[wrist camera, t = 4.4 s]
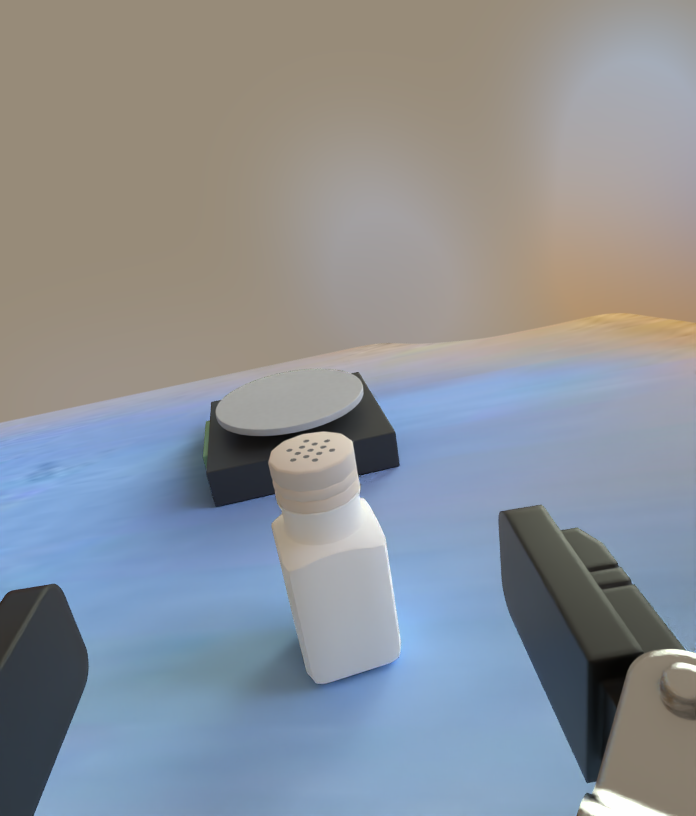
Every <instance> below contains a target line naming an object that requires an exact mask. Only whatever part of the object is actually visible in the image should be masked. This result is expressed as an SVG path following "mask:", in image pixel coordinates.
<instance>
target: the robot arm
mask: <svg viewBox="0 0 696 816" xmlns="http://www.w3.org/2000/svg"><path fill="white" fill-rule="evenodd" d="M499 540H500V558H501V576H502V586H503V592H504V596H505V601H506V604H507V607H508V610H509V613H510V616H511V618H512V620H513V622H514V625H515V627H516V629H517V631H518V633H519V635H520V638H521V640H522V642H523V644H524V646H525V649H526V651H527V653H528V655H529V657H530V660H531V662H532V664H533V666H534V668H535V671H536V673H537V675H538V677H539V679H540V681H541V684H542V686H543V688H544V690H545V692H546V695H547V697H548V699H549V701H550V703H551V706H552V708H553V710H554V712H555V714H556V717H557V719H558V721H559V723H560V725H561V727H562V730H563V732H564V734H565V736H566V738H567V741H568V743H569V745H570V747H571V749H572V752H573V754H574V756H575V758H576V760H577V763H578V765H579V767H580V769H581V771H582V774H583V776H584V778H585V780H586V782H587V783H590V782H596V785H595V788H594V791H593V793H592V795H591V794H589V793H586V794H585V796H584V798H583V800H582V802H581V804H580V807H579V810H578V813H577V816H696V653H693V652H688V651H686V650H685V649H684V648H683V646H682V645H681V644H680V642H679V641H678V640H677V639H676V637H675V636H674V635H673V633H672V632H671V631H670V630H669V628H668V627H667V626H666V624H665V623H664V622H663V621H662V619H661V618H660V617H659V615H658V614H657V613H656V612H655V610H654V609H653V608H652V606H651V605H650V604H649V603H648V601H647V600H646V599H645V597H644V596H643V595H642V593H641V592H640V591H639V590H638V588H637V587H636V586H635V584H634V585H632V583H631V579H630V578H629V577H628V575H627V574H626V573H625V572H624V570H623V569H622V568H621V567H619V566H618V563H617V561H616V560H615V559H614V557H613V556H612V555H611V554H610V552H609V551H608V550H607V548H606V547H605V546H604V545H603V543H602V542H600V541H598V540H597V539H595V538H593V537H592V536H590V535H589V534H587V533H585V532H584V531H582V530H580V529H579V528H572V529H566V530H560V529H559V528H558V526H557V525H556V523H555V522H554V520H553V519H552V518H551V516H550V515H549V513H548V512H547V510H546V509H545V508H544V507H543V506H542V505H536V506H530V507H524V508H518V509H512V510H506V511H501V512H500V513H499ZM87 677H88V654H87V650H86V647H85V644H84V642H83V639H82V637H81V634H80V632H79V629H78V627H77V624H76V622H75V620H74V617H73V615H72V612H71V610H70V607H69V605H68V602H67V600H66V597H65V595H64V593H63V591H62V589H61V588H60V587H59V586H58V585H56V584H49V585H43V586H37V587H31V588H25V589H19V590H13V591H10V592H8V593H7V594H6V595H5V596H4V598H3V599H2V601H1V602H0V816H34V813H35V811H36V808H37V806H38V803H39V801H40V798H41V796H42V793H43V791H44V788H45V786H46V783H47V781H48V778H49V775H50V773H51V770H52V768H53V765H54V763H55V760H56V758H57V755H58V753H59V750H60V748H61V745H62V743H63V740H64V738H65V735H66V733H67V730H68V728H69V725H70V723H71V720H72V718H73V715H74V713H75V710H76V708H77V705H78V703H79V700H80V698H81V695H82V693H83V690H84V688H85V685H86V682H87Z"/></svg>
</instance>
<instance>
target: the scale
mask: <svg viewBox="0 0 696 816" xmlns="http://www.w3.org/2000/svg"><path fill="white" fill-rule="evenodd" d="M323 431H324V432H332V433H340V434H342V435H344V436H345V437H347V438H348V439H350V440H351V441H352V442H353V447H354V454H355V460H356V466H357V472H358V475H360V474H365V473H369V472H374V471H378V470H383V469H387V468H392V467H396V466H399V465H400V464H399V456H398V449H397V441H396V434H395V431H394V429H393V428H392V426H391V424H390V423H389V421H388V419H387V418H386V416H385V415H384V413H383V411H382V410H381V408H380V406H379V405H378V403H377V401H376V400H375V398H374V396H373V395H372V393H371V391H370V390H369V388H368V387H367V385H366V383H365V382H364V380H363V378H362V377H361V375H360V373H359V372H356V373H348V372H345V371H340V370H334V369H304V370H295V371H289V372H283V373H279V374H274V375H271V376H267V377H264V378H261V379H258V380H255V381H252V382H250V383H247V384H245V385H243V386H241V387H239V388H237V389H235V390H234V391H232V392H230V393H229V394H228V395H226V396H225V397H224V398H223V399H222V400H219V401H214V402H211V414H210V421H206V426H205V438H204V450H203V460H204V463H205V467H206V470H207V471H206V474H207V477H208V481H209V485H210V488H211V492H212V496H213V499H214V503H215V506H221V505H225V504H230V503H234V502H239V501H243V500H248V499H252V498H257V497H261V496H266V495H270V494H275V489H274V486H273V479H272V477H271V473H270V469H269V464H268V462H269V458H270V454H271V451H272V450H273V449H275V448H276V447H277V446H278V445H280V444H281V443H282V442H283V441H286V440H288V439H291V438H294V437H296V436H299V435H302V434H307V433H315V432H323Z"/></svg>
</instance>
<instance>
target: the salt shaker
mask: <svg viewBox="0 0 696 816" xmlns="http://www.w3.org/2000/svg"><path fill="white" fill-rule="evenodd" d="M268 464H269V469H270V473H271V477H272V479H273V486H274V489H275V495H276V500H277V504H278V505H279V507H280V509H281V510H282V514H281V515H280V516H279V517H278V518H277V519H276V520H275V521H274V522H273V523H272V530H273V535H274V539H275V543H276V547H277V552H278V556H279V560H280V564H281V569H282V573H283V577H284V581H285V586H286V590H287V594H288V598H289V603H290V607H291V611H292V615H293V620H294V624H295V628H296V632H297V636H298V640H299V644H300V648H301V652H302V656H303V660H304V664H305V667H306V671H307V673H308V675H309V676H310V677H311V678H312V679H313V680H314V681H315V683H316V684H327V683H330V682H333V681H336V680H339V679H342V678H345V677H349V676H352V675H355V674H358V673H361V672H364V671H367V670H370V669H374V668H377V667H380V666H383V665H386V664H389V663H392V662H393V661H395V660H396V659H397V658H399V655H400V651H401V639H400V632H399V626H398V619H397V612H396V605H395V599H394V592H393V585H392V578H391V572H390V565H389V558H388V551H387V545H386V538H385V536H384V533H383V531H382V529H381V527H380V525H379V522H378V520H377V519H376V517H375V515H374V513H373V511H372V509H371V508H370V506H369V504H368V503H367V502H366V501H365V499H363V498H360V497H359V493H360V488H361V487H360V483H359V478H358V472H357V466H356V460H355V454H354V447H353V442H352V441H351V440H350V439H348V438H347V437H345V436H344V435H342V434H340V433H332V432H324V431H323V432H315V433H307V434H302V435H299V436H296V437H294V438H291V439H288V440H286V441H283V442H282V443H281V444H280V445H278V446H277V447H276V448H275V449H273V450H272V451H271V454H270V458H269V462H268Z"/></svg>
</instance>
